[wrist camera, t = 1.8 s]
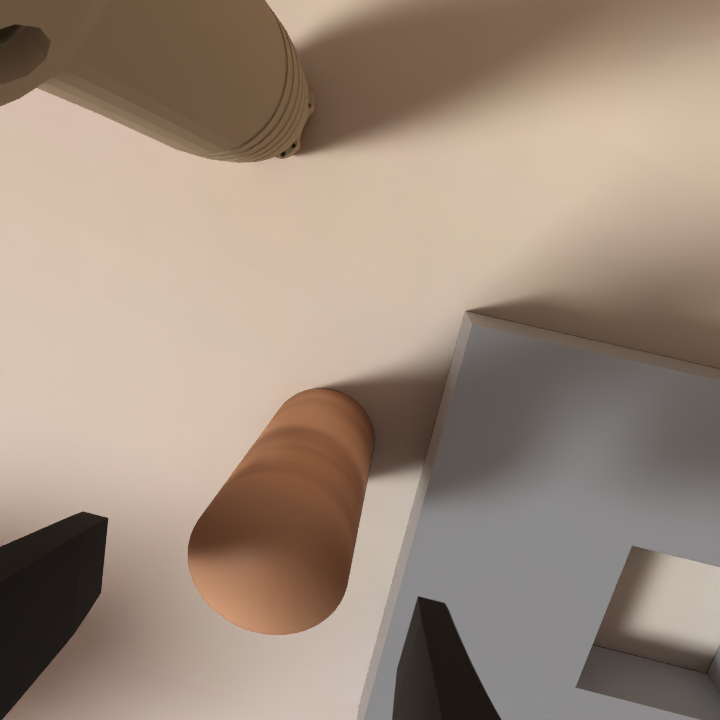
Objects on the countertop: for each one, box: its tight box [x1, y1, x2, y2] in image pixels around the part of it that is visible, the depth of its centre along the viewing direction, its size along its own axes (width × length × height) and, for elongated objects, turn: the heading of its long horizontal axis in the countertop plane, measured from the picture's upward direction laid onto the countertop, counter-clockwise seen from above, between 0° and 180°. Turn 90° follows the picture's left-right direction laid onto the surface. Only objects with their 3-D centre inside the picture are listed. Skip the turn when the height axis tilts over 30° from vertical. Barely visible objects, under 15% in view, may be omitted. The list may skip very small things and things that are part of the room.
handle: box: [0, 0, 315, 163], centre depth 11 cm, size 5×6×15 cm
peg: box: [188, 389, 374, 635], centre depth 17 cm, size 4×4×8 cm
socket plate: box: [357, 311, 720, 720], centre depth 20 cm, size 18×20×2 cm
